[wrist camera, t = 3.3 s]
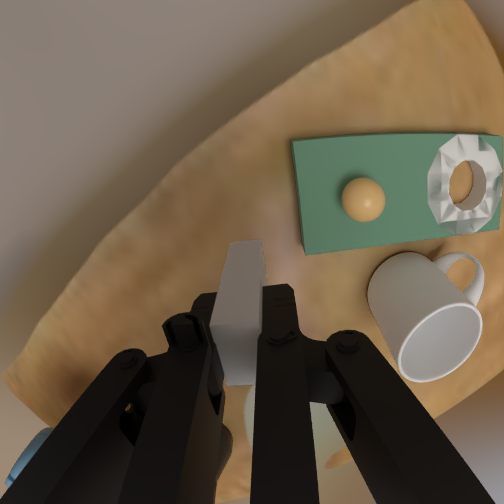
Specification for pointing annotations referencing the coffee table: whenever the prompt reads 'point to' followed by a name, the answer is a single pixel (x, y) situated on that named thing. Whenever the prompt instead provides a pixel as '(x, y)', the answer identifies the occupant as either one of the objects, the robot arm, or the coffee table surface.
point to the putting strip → (395, 187)
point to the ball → (363, 199)
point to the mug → (426, 313)
